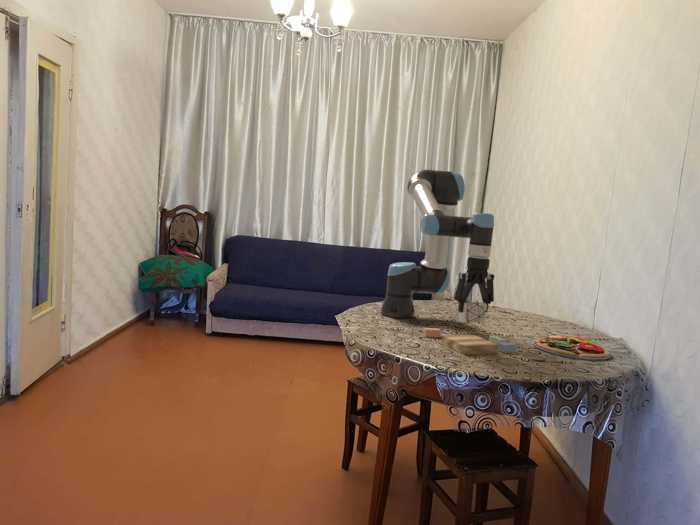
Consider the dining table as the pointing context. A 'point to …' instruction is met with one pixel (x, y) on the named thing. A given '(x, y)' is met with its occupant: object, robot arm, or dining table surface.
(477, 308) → the game die
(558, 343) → the toy pizza
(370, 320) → the dining table surface
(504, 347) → the slate blue brick
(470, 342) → the oak block
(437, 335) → the terracotta brick
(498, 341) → the sage brick
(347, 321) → the dining table surface
